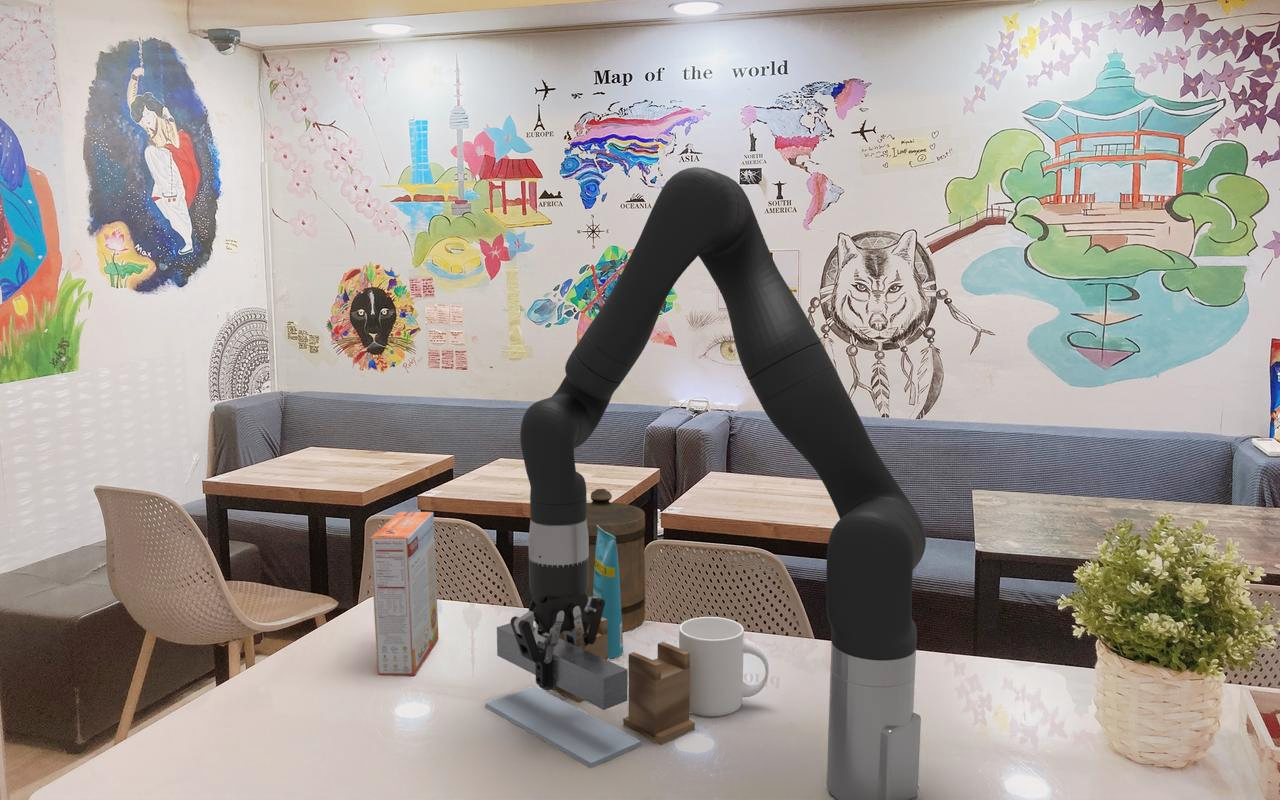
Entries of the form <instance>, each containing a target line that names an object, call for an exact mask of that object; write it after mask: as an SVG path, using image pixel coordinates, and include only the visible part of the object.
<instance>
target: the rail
mask: <svg viewBox="0 0 1280 800" xmlns="http://www.w3.org/2000/svg"><path fill="white" fill-rule="evenodd" d="M535 627H536V626H534V628H535ZM532 632H533V635H534V633H535V630H534V631H532ZM545 634H546V635H548V636H549V634H548V633H546V632H545ZM496 644H497V645H496V652H497V653H496V656H497V657H500V658H501V659H503V660H505V661H507V662H508V663H510V664H513V665H515V666H517V667H519V668H521V669H523V670H525V671H527V672H528V673H530V674H533V675H535V676H536V668H535V662H533V661H531V660H529V659H527V658H525V657H523V656H522V654H521V652H520V649H519V646H518V643H517V640H516V637H515V635H514V632H513V629H512V626H511V623H510V622H509V623H506V624H502V625H500V626H496ZM544 648H545V645H544ZM543 651H544V650H543ZM551 662H552V663H553V684H554V685H556V686H558V687H559V688H561V689H563V690H565V691H567V692H569V693H571V694H573V695H575V696H577V697H579V698H581V699H583V700H585V701H584V702H586V703H589V704H590V705H592V706H595V707H597V708H599V709H600V710H602V711H605V710H608V709H611V708H612V707H615V706H618V705H620V704H623V703H625V702H628V696H629V668H628V669H627V668H626V667H623V666H622V665H619V664H617V663H614V662H612V661H610V660H609V659H608V660H606V659H604V658H601V657H599V656H597V655H595V654H593V653H590V652H588V651H586V650H584V649H582V648H580V647H577V646H575V645H573V644H571V643H569V642H566V641H564V640H562V639H560V638H559V640H558V644H557V645H555V647H554V652H553V657H552V661H551Z"/></svg>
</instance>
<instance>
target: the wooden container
mask: <svg viewBox="0 0 1280 800" xmlns="http://www.w3.org/2000/svg"><path fill="white" fill-rule="evenodd" d="M612 496H613V495H612V493H611V492H610V491H608V490H607V489H606V488H597V489H594V491H592V492H591V493H590V500H591V502H587V517H586V518H587V528H588V536H589V586H588V589H587V590H586V593H587V595H593V586H594V565H595V552H596V541H597V532H598V527H597V525H598V526H599V527H600V528H601V529H602V530H603V531H605V532H607V533H609V534H611V535H613V536H614V537H615V540H616V546H617V553H618V564H619V578H620V595H621V613H622V633H624V632H627V631H630V630H634V629H636V628H637V627H639V626H641V625H642V624H643V623H644V621H645V617H646V616H645V615H646V566H645V565H646V564H645V563H646V562H645V561H646V560H645V559H646V556H645V532H646V513H645V511H644V510H643V509H641V508H640V507H637V506H635V505H632V504H626V503H620V502H610V501H611V500H612Z"/></svg>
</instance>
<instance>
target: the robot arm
mask: <svg viewBox="0 0 1280 800" xmlns="http://www.w3.org/2000/svg"><path fill="white" fill-rule="evenodd" d="M697 257H698V258H699V259H700V260H701V262H702V264H703V265H704V267H705V268H706V270H707V271H708V274H710V276H711V278H712V280H713V281H714V283H715V285H716V286H717V289H718V291H719V292H720V294H721V296H722V298H723V300H724V301H723V302H724V304H725V307H726V310H727V313H728V318H729V322H730V327H731V331H732V337H733V341H734V344H735V347H736V352H737V355H738V358H739V359H738V360H739V362H740V364H741V366H742V369H743V371H744V373H745V376H746V379H747V381H749V384H750V386H751V388H752V390H753V392H754V395H756V397H757V400H758V402H759V403H760V405H761V407H762V409H763V411H764V412H765V414H766V415H767V417H768V419H769V420H770V421H771V423H772V424H773V426H775V428H776V429H777V430H778V431H779V433H780V434H781V435H782V436H783V437H784V438H785V439H786V440H787V441H788V442H789V444H790V445H792V446H793V448H795V450H796V451H797V452H798V453H799V454H800V455H801V456H802V457H803V458H804V460H806V461H807V462H808V463H809V465H811V467H812V468H813V470H814V471H815V472H816V474H817V475H818V477H819V478H820V480H821V482H822V484H823V486H824V487H825V490H826V491H827V493H828V495H829V497H830V499H831V502H832V503H833V507H835V510H836V513H837V516H838V517H839V520H838V521H837V522H836V523H835V525H834V526H833V528H832V530H831V532H830V535H829V538H828V541H827V548H826V549H827V552H826V615H827V616H826V617H827V620H828V624H829V626H830V633H831V636H830V641H831V643H830V675H829V698H828V699H829V700H828V701H829V703H828V727H827V728H828V731H827V732H828V733H827V736H828V737H827V764H826V765H827V769H826V770H827V771H826V786H827V790H828V791H829V794H831V795H832V796H833V797H834V798H835V799H837V800H912V799H913V798H915V797H917V796H918V794H919V792H918V791H919V775H920V774H919V771H920V770H919V769H920V753H921V752H920V751H921V750H920V749H921V729H922V728H921V725H922V724H921V723H922V717H921V715H920V714H918V713H916V712H914V703H915V681H916V665H917V664H916V663H917V661H916V660H917V637H918V629H917V625H916V622H915V621H914V620H913V618H912V616H913V615H912V611H913V609H912V606H913V605H912V603H913V602H912V599H913V577H914V576H913V572H914V570H915V569H916V567H917V566H918V564H919V563H920V562H921V560H922V559H923V557H924V554H925V550H926V545H927V542H926V541H927V540H926V538H927V537H926V531H925V528H924V527H925V526H924V524H923V522H922V519H921V517H920V516H919V514H918V512H917V510H916V509H915V507H914V506H913V505H912V503H911V501H910V500H909V498H908V497H907V495H906V494H905V493H904V491H903V490H902V488H901V487H900V485H899V483H898V482H897V480H896V479H895V478H894V477H893V475H892V473H891V472H890V471H889V469H888V467H887V466H886V464H885V463H884V461H883V460H882V458H881V456H880V455H879V453H878V451H877V450H876V448H875V446H874V444H873V443H872V440H871V439H870V435H868V432H867V430H866V428H865V426H864V424H863V421H862V420H861V418H860V415H859V413H858V411H857V409H856V407H855V406H854V402H852V399H851V398H850V397H851V396H849V393H848V392H847V390H846V388H845V386H844V384H843V382H842V380H841V378H840V375H839V373H838V372H837V370H836V368H835V365H834V364H833V363H834V362H833V361H832V360H831V358H830V356H829V353H828V352H827V350H826V348H825V347H824V344H823V343H822V341H821V339H820V338H819V336H818V334H817V332H816V330H815V329H814V326H813V325H812V324H811V322H810V321H809V319H808V317H807V315H806V313H805V311H804V310H803V308H802V306H801V304H800V302H799V301H798V300H797V298H796V296H795V294H794V293H793V292H792V290H791V288H790V287H789V285H788V284H787V282H786V281H785V279H784V278H783V276H782V274H781V272H780V270H779V269H778V267H777V265H776V263H775V261H774V258H773V256H772V254H771V252H770V249H769V246H768V244H767V242H766V239H765V237H764V235H763V232H762V230H761V227H760V224H759V222H758V220H757V217H756V215H755V212H754V210H753V207H752V204H751V201H750V200H749V198H748V196H747V194H746V192H745V191H744V189H743V187H742V186H741V185H740V184H739V183H738V182H737V181H736V180H735V179H733V178H732V177H730V176H728V175H725V174H722V173H720V172H717V171H715V170H712V169H709V168H705V167H699V166H697V167H696V166H693V167H689V168H688V167H687V168H685V169H682V170H680V171H678V172H676V173H675V174H673V175H672V176H671V177H670V178H668V180H667V181H666V182H665V184H664V185H663V187H662V188H661V190H660V192H659V194H658V196H657V198H656V200H655V202H654V205H653V207H652V208H651V211H650V213H649V216H648V218H647V220H646V221H645V224H644V227H643V228H642V231H641V234H640V235H639V238H638V240H637V242H636V244H635V246H634V248H633V249H632V252H631V254H630V256H629V258H628V260H627V262H626V264H625V266H624V268H623V270H622V271H621V274H620V275H619V278H618V279H617V280H616V283H615V285H614V286H613V288H612V289H611V291H610V294H609V295H608V297H607V298H606V300H605V301H604V302H603V305H602V306H601V308H600V310H598V313H597V314H596V315H595V317H594V319H593V320H592V321H591V323H590V325H589V326H588V327H587V328H586V330H585V332H584V333H583V335H582V336H581V338H580V339H579V341H578V342H577V344H576V345H575V347H574V349H573V350H572V352H571V353H570V355H569V356H568V358H567V360H566V362H565V365H564V366H565V367H564V371H565V377H564V378H563V380H562V382H561V383H560V385H559V387H558V388H557V389H556V391H555V392H554V393H553V394H552V395H551V397H550V396H549V397H547V398H544V399H540V400H538V401H536V402H534V403H532V404H531V405H530V406H529V407H528V408H527V409H526V410H525V413H524V415H523V417H522V421H521V424H520V438H519V439H520V440H519V441H520V448H521V454H522V457H523V462H524V467H525V472H526V475H527V479H528V481H529V485H530V495H529V501H530V502H529V506H530V507H529V508H530V510H529V511H530V514H529V515H530V517H529V519H530V520H529V521H530V522H529V532H528V589H529V591H530V595H531V600H530V604H529V606H528V611H526V612H525V613H524V614H523V615H521V616H520V617H518V616H516V615H515V616H513V617H512V618H511V619H510V622H509V623H511V626H512V629H513V632H514V635H515V637H516V640H517V643H518V646H519V649H520V652H521V654H522V656H523V657H525V658H527V659H529V660H531V661H533V662H535V668H536V675H535V683H536V685H538V688H539V689H541V690H543V691H545V692H548V691H551V690H553V663H552V662H551V661H552V657H553V652H554V647H555V645H557V644H558V640H559V634H560V633H562V632H563V634H564V637H565V641H566V642H569V643H571V644H573V645H575V646H577V647H580V648H582V649H585V647H586V646H587V645H588V644H594V642H595V640H596V636H597V633H598V629H599V625H600V621H601V617H602V613H603V610H604V606H605V601H604V600H603V599H601V598H599V597H596V596H593V595H587V593H586V590H587V589H588V586H589V536H588V528H587V518H586V517H587V503H588V501H587V499H588V497H587V492H588V491H587V484H586V480H585V478H584V476H583V475H582V474H581V473H579V472H578V471H577V469H576V460H575V449H576V448H578V447H581V445H583V444H584V443H585V442H586V441H587V440H588V439H589V438H590V436H591V435H592V434H593V433H594V432H595V430H596V429H597V428H598V426H599V424H600V422H601V421H602V418H603V416H604V415H605V412H606V410H607V408H608V406H609V404H610V402H611V399H612V396H613V395H614V393H615V391H616V390H618V388H619V387H620V385H621V384H622V382H623V381H624V380H625V378H626V377H627V376H628V374H629V373H630V371H631V370H632V368H633V367H634V365H635V364H636V362H637V361H638V359H639V358H640V356H641V354H642V353H643V351H644V349H645V347H646V346H647V344H648V342H649V340H650V337H651V336H652V334H653V331H654V329H655V326H656V324H657V320H658V318H659V316H660V313H661V311H662V309H663V306H664V304H665V301H666V299H667V298H668V296H669V294H670V292H671V290H672V289H673V288H674V285H675V284H676V282H677V281H679V279H680V278H681V276H682V274H684V272H686V270H687V269H688V267H690V265H691V264H692V263H693V262H694V261H695V260H696V259H697ZM581 615H582V617H581ZM534 623H535V626H534ZM589 624H590V627H589V631H588V633H587V630H588V626H589ZM534 627H535V628H534ZM534 630H535V633H534V635H533V632H532V631H534ZM545 632H546V633H548V634H549V636H548V635H546V634H545ZM544 645H545V648H544ZM543 650H544V651H543Z"/></svg>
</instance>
